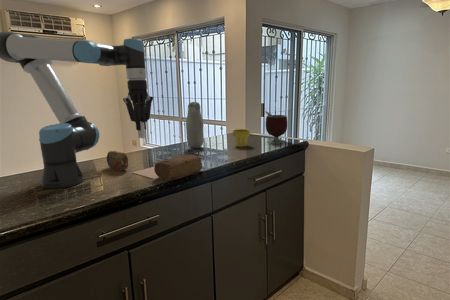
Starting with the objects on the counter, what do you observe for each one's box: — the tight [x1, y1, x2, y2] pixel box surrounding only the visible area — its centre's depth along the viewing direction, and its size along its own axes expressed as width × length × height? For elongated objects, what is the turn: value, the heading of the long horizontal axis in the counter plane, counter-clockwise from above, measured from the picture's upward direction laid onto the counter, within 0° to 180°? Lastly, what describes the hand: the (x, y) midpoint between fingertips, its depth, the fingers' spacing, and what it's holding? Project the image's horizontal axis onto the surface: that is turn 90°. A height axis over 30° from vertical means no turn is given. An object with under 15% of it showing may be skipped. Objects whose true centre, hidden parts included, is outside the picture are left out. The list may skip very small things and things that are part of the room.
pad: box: [132, 166, 161, 181], centre depth 136 cm, size 20×17×1 cm
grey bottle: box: [185, 101, 205, 149], centre depth 183 cm, size 10×10×28 cm
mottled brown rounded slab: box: [106, 150, 129, 172], centre depth 141 cm, size 15×3×8 cm, turn 49°
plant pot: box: [232, 128, 250, 148], centre depth 188 cm, size 10×10×10 cm
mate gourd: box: [264, 110, 288, 145], centre depth 196 cm, size 16×14×20 cm
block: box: [153, 153, 203, 182], centre depth 129 cm, size 11×8×20 cm
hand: (141, 137), depth 126 cm, fingers closed
